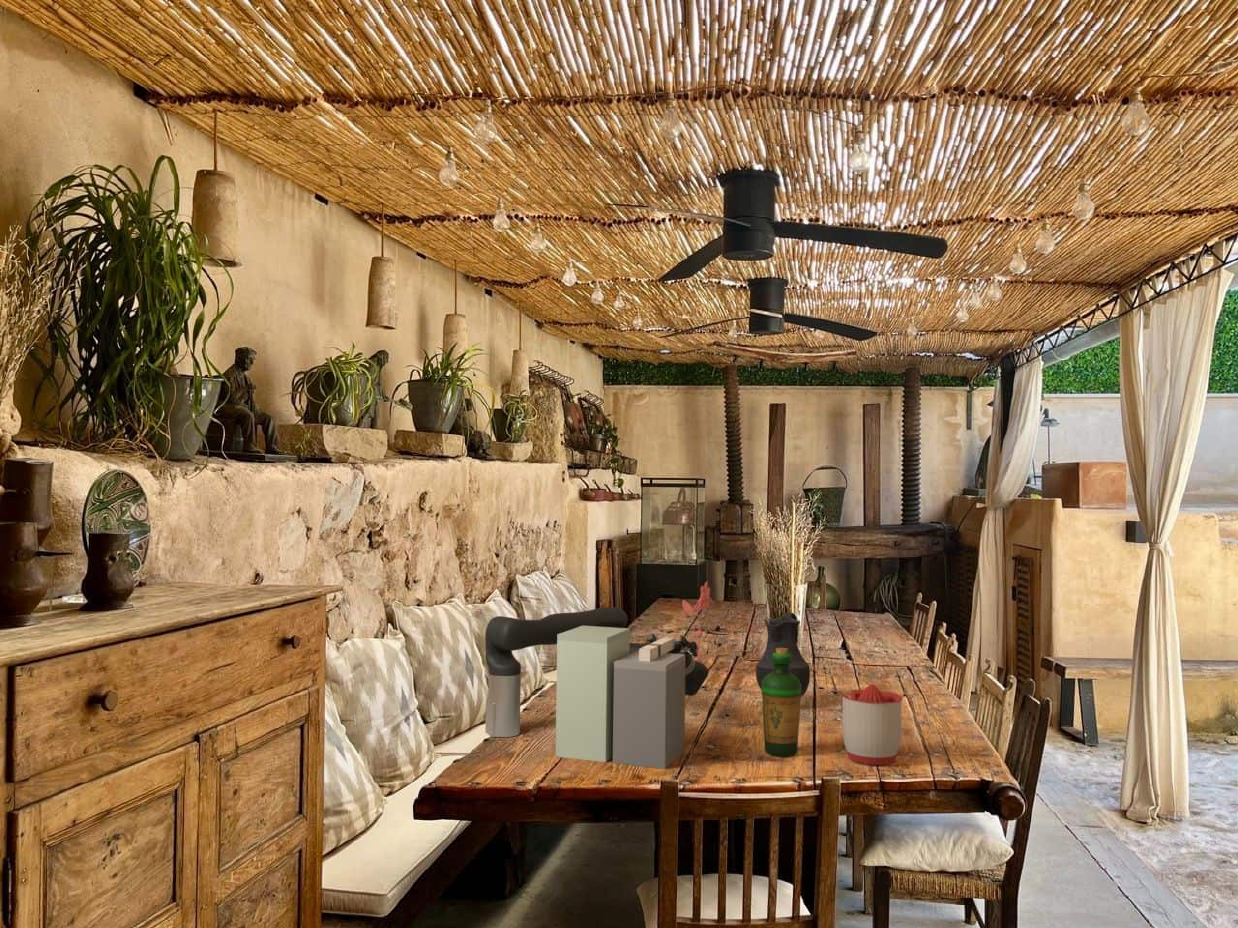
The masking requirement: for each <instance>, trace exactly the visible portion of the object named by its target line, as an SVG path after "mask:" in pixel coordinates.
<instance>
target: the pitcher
mask: <svg viewBox="0 0 1238 928" xmlns="http://www.w3.org/2000/svg"><path fill="white" fill-rule="evenodd" d="M763 621H764V624H765V626H766V631H767V641H766V648H765V650H764V652H763V655H762V657H761V658H760V660H759V661H758V662H757V663H756V667H755V675H756V676H755V677H756V682H757V684H758V687H759V689H760V691H762V681H763V679H764V678H765V676H767V675H768V674H770V673H771V672H774V664H773V663H772V662H771V660H772V656H773V653H776V648H787V649H788V651H787V653H790V655H791V660H792V663H790V667H789V672H790V673H792V674H793V675H795V676H796V677H797V678H798V679H799V681H800V683H801V698H802V697H803V696H804V695H805V694H806V692H807V690H808V688H809V686H810V680H811V671H810V670H811V669H810V668H811V667H810V665H809V663H808V661H806V660H805V659H804V657H803V655H802V653H801V651H800V649H799V646H798V637H799V625H800V624H801V621H800V620H798V618H797V616H796V614H795V613H794V612H789V611H788V612H785V613H784V614H783V615H782V616H781V617H780V618H779V617H778V618H775V617H774V618H764V619H763Z"/></svg>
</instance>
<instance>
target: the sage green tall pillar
mask: <svg viewBox="0 0 1238 928" xmlns="http://www.w3.org/2000/svg"><path fill="white" fill-rule="evenodd" d="M630 633H631V628H626V627H625V628H612V627H597V626H580V627H577V628H574V629H572V630H569V631H566V632H563V633H560V634H557V647H556V698H555V699H556V703H555V704H556V713H555V720H556V721H555V757H556V758H565V759H574V760H581V761H582V760H583V761H589V762H599V763H600V762H602V763H607V762H608V761H610V760H611V759H613V706H614V661H616V660H619V659H621V658H623V657H625V656H627V655H629V654H630V641H631V640H630V639H631V637H630V636H631V635H630Z"/></svg>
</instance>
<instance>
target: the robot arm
mask: <svg viewBox="0 0 1238 928" xmlns="http://www.w3.org/2000/svg"><path fill="white" fill-rule="evenodd" d="M627 623H628V615H627V613H626V612H625V611H624V610H623V609H620V608H618V607H614V606H604V607H599V608H593V609H590V610H585V611H577V612H574V611H573V612H561V613H560V612H559V613H558V612H557V613H552V614H549V615H546V616H544V617H543V618H540V619H520V618H516V617H515V618H514V617H508V616H503V615H502V616H501V615H498V616H494V617H493V618H491V619H490V620H489V622H488V623H487V625H486V628H485V629H486V630H485V634H484V635H485V638H484V642H485V662H486V665H487V668H488V685H487V686H488V687H487V688H488V690H487V691H488V692H487V697H488V698H486V699H485V730H484V731H485V734H487V735H488V736H489V737H491V738H511V737H512V738H513V737H515V736H516V737H517V736H518V735H520V734H521V695H522V694H521V693H522V692H521V689H522V685H521V684H522V683H521V682H522V681H521V679H522V664H521V662H519V661H518V660H517V658H516V657H515V656H514V654H513V651H519V650H523V649H526V648H530V647H535V646H541V645H543V646H554V645H555V646H556V645H557V634H560V633H563V632H566V631H569V630H572V629H574V628H577V627H580V626H597V627H612V628H626V626H627ZM659 639H660V638H659ZM659 639H658V638H657V636H656V635H655V634H654V633H650V634H649V635H648V638H646V642H643V643H639V642H638V643H637V642H630V654H631V653H633V652H635V651H639V649H640V648H642V647H644V646H647V645H648V644H651V643H653V642H655V641H657V640H659ZM667 653H672V654H685V696H689V697H692V696H695V695H696V694H698V692H699V691H700V690H701V687H702V686H703V684H704V683H705V681H706V680H707V678H708V677H709V674H710V673H709V670H708V667H707V666H706V665H705V664H704V663H703V664H702V663H701V662H700V661H698V660H697V661H696V659H695V658H697V657H698V656H697V654H698V655H699V652H698V643H697V642H696V641H695V640H694V641H693V640H691V641H690V640H688V639H687V638H686V637H685V636H684V635H682V634H681V635H679V639H678V640H674V649H673V650H671V651H669V652H667Z"/></svg>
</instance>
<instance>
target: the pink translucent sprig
mask: <svg viewBox="0 0 1238 928" xmlns="http://www.w3.org/2000/svg"><path fill="white" fill-rule="evenodd" d="M710 592H711V587H710V586H709V587H708V581H706V582H704V585H701V587H700V598H699V599H698V600H697V602H696V604H695V605H694V607H692V606H691V604H690V603H689V602H688V601H686V600H685V599H683V600H682V603H681V604H682V608H683V610H684V612H685V616H686V617H688V616H690V617H693V614H695V615H696V616H697V617H698V618H699V630H696V631H695V636H696V637H695V638H694V639H692V641H695V640H696V639H697V642H696V643H697V647H698V654H697V657H696V659H695V661H698V660H699V662H700V663H702V664H704V662H703V661H702V659H701V656H700V645H699V638H701V637H702V636H703V631H702V629H701V627H702V626H701V625H702V617H701V616H700V615H699V614H698V613H697V611H698V610H699V609H701V612H702V615H704V614H705V612H706V609H708V608H710V602H711V603H712V604H713V605H714V606H716V603H715V602H714V601H713V599H712V598H711V597H710V595H711V593H710ZM709 600H710V602H709ZM719 670H721V671H722V669H721V668H719ZM722 675H725V672H723V673H721V674H717V675H716V677H719V676H722Z"/></svg>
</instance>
